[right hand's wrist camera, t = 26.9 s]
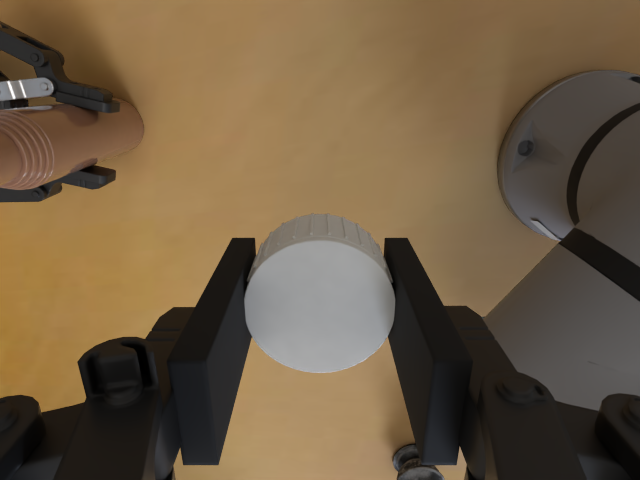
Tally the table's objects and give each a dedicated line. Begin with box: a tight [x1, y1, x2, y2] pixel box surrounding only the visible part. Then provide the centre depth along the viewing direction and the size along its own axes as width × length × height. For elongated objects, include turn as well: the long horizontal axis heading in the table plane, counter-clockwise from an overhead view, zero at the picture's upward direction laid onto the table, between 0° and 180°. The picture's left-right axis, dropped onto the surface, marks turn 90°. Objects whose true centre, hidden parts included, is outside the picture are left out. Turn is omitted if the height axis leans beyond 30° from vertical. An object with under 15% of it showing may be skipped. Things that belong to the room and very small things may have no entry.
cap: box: [244, 213, 395, 373], centre depth 13 cm, size 4×4×2 cm
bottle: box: [0, 98, 144, 190], centre depth 30 cm, size 5×5×19 cm
